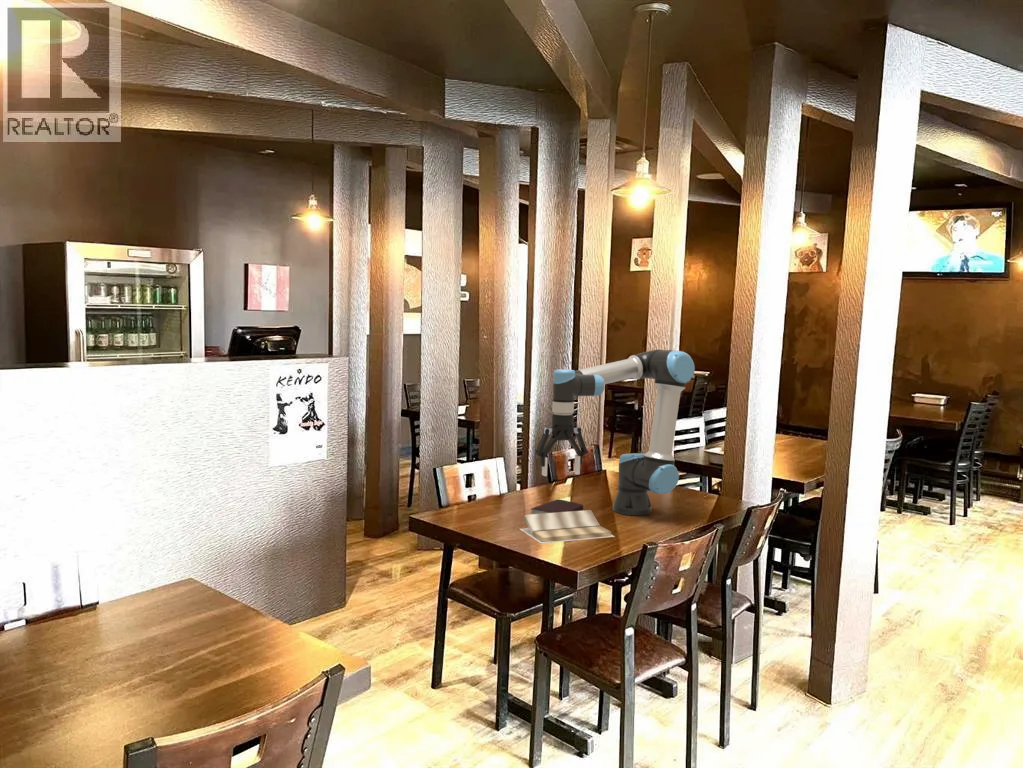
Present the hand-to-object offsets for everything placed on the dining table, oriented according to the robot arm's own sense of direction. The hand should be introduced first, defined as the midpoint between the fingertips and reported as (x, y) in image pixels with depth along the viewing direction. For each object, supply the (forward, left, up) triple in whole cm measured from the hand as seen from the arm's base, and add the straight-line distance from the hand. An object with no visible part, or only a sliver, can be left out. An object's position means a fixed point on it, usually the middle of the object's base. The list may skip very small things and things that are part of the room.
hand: (560, 474), depth 264 cm
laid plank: (0, +10, -19) cm, 22 cm away
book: (-11, -24, -21) cm, 34 cm away
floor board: (0, +6, -20) cm, 21 cm away
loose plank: (0, +1, -17) cm, 17 cm away
